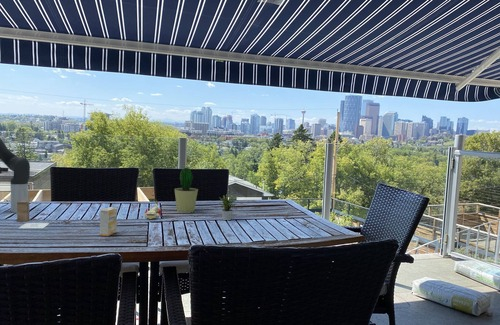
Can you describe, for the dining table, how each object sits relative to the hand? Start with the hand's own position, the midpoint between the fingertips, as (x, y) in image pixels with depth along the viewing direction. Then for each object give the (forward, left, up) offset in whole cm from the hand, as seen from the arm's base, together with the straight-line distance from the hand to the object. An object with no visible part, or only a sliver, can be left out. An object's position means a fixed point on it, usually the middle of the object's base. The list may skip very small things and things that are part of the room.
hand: (4, 170), depth 210 cm
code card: (+11, +18, -28) cm, 35 cm away
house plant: (+1, +123, -28) cm, 126 cm away
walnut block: (0, +9, -28) cm, 29 cm away
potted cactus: (-26, +99, -28) cm, 106 cm away
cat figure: (-14, +79, -29) cm, 85 cm away
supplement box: (+29, +58, -28) cm, 71 cm away
